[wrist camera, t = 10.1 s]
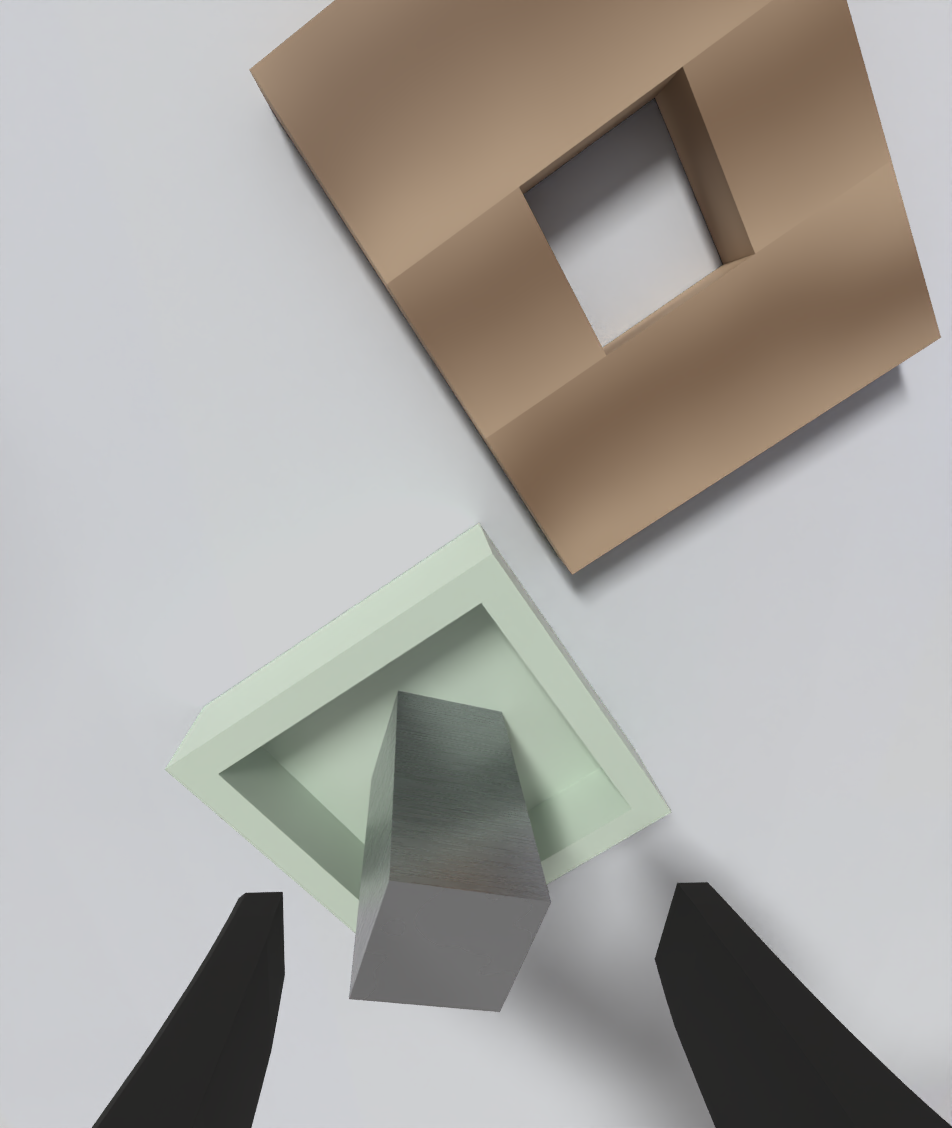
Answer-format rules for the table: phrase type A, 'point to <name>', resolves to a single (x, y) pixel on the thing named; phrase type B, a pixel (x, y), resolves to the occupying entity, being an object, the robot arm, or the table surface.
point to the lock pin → (446, 862)
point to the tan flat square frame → (530, 269)
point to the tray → (362, 711)
